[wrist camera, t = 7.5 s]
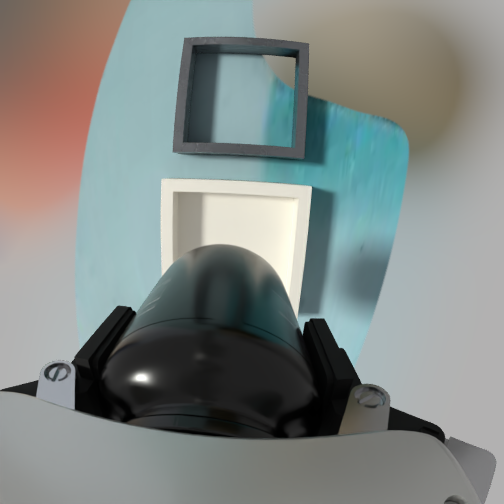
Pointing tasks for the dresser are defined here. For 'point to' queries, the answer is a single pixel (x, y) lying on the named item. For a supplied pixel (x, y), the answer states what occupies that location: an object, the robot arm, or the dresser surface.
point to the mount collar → (247, 47)
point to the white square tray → (238, 222)
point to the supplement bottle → (214, 354)
